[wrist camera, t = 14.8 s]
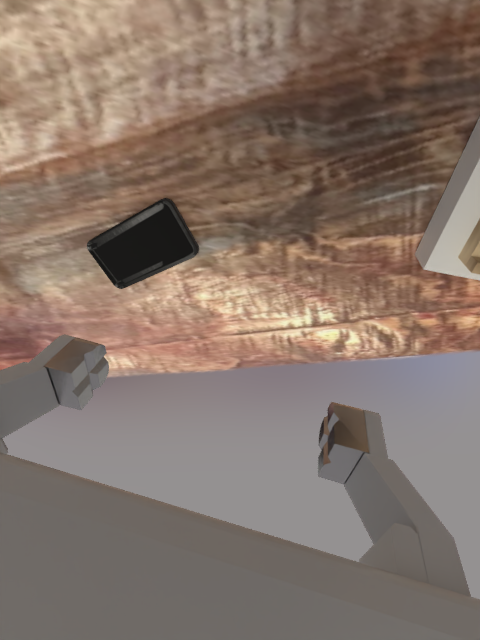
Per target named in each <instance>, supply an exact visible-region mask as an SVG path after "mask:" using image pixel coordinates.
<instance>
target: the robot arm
mask: <svg viewBox="0 0 480 640" xmlns="http://www.w3.org/2000/svg"><path fill="white" fill-rule="evenodd" d="M105 354H106V349H105V346H104V345H102V344H98V343H95V342H91V341H87V340H84V339H80V338H76V337H72V336H69V335H61V336H59V337H58V338H57V339H56V340H55V341H53V342H52V343H51V344H50V345H49V346H48V347H46V348H45V349H44V350H43V351H42V352H41V353H39V354H38V355H37V356H36V357H35V358H34V359H32V360H31V361H30V362H29V363H27V362H23V363H20V364H17V365H14V366H11V367H9V368H6V369H3V370H0V640H480V599H476V598H473V597H471V595H470V592H469V588H468V585H467V581H466V578H465V575H464V571H463V568H462V564H461V561H460V557H459V554H458V551H457V547H456V544H455V541H454V538H453V537H452V535H451V534H450V533H449V532H448V530H447V529H446V528H445V526H444V525H443V524H442V522H440V520H439V519H438V517H437V516H436V515H435V514H434V512H433V511H432V510H431V508H430V507H429V506H428V505H427V503H426V502H425V501H424V499H423V498H422V497H421V496H420V494H419V493H418V492H417V490H416V489H415V488H414V487H413V485H412V484H411V483H410V481H409V480H408V479H407V478H406V476H405V475H404V474H403V473H402V471H401V470H400V469H399V467H398V466H397V465H396V463H395V462H394V461H393V460H390V459H388V455H387V450H386V444H385V439H384V433H383V428H382V422H381V417H380V415H379V413H375V412H371V411H366V410H362V409H359V408H354V407H351V406H346V405H342V404H338V403H334V402H331V404H330V405H329V407H328V416H327V417H324V419H323V422H322V424H321V428H320V434H319V447H320V448H321V450H322V451H321V453H320V455H319V457H318V476H319V477H322V478H325V479H328V480H332V481H335V482H338V483H341V484H344V487H345V489H346V490H347V492H348V494H349V496H350V498H351V500H352V502H353V504H354V506H355V508H356V510H357V512H358V514H359V516H360V518H361V520H362V522H363V524H364V526H365V528H366V530H367V532H368V534H369V536H370V538H371V540H372V542H373V544H374V545H373V546H372V547H371V548H370V549H369V550H368V551H367V552H366V553H365V554H364V555H363V557H362V558H361V559H360V560H359V562H356V561H353V560H349V559H346V558H343V557H340V556H336V555H333V554H329V553H326V552H323V551H320V550H317V549H313V548H309V547H307V546H304V545H300V544H297V543H294V542H291V541H287V540H284V539H281V538H278V537H274V536H271V535H268V534H264V533H261V532H258V531H255V530H252V529H248V528H245V527H242V526H239V525H235V524H232V523H229V522H226V521H222V520H219V519H216V518H213V517H209V516H206V515H203V514H200V513H196V512H193V511H190V510H187V509H183V508H180V507H177V506H173V505H170V504H167V503H164V502H161V501H157V500H154V499H151V498H148V497H144V496H141V495H138V494H134V493H131V492H128V491H125V490H122V489H118V488H115V487H112V486H108V485H105V484H102V483H99V482H95V481H92V480H89V479H85V478H82V477H79V476H76V475H72V474H69V473H66V472H63V471H60V470H56V469H53V468H50V467H47V466H43V465H40V464H37V463H33V462H30V461H27V460H24V459H20V458H17V457H14V456H11V455H7V453H8V448H7V447H6V445H5V443H4V441H3V439H2V438H3V437H5V436H7V435H9V434H11V433H12V432H14V431H16V430H18V429H19V428H21V427H23V426H25V425H26V424H28V423H29V422H32V421H33V420H35V419H37V418H39V417H40V416H42V415H44V414H46V413H47V412H49V411H51V410H53V409H54V408H56V407H58V406H59V405H63V406H67V407H71V408H75V409H79V410H82V409H83V408H84V406H85V405H86V404H87V403H88V401H89V400H90V399H91V398H92V396H93V390H94V389H96V388H99V387H101V385H102V384H103V383H104V381H105V380H106V377H107V375H108V371H109V365H108V361H107V360H106V359H105V358H104V357H103V356H104V355H105Z"/></svg>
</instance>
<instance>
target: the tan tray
mask: <svg viewBox="0 0 480 640" xmlns="http://www.w3.org/2000/svg"><path fill="white" fill-rule="evenodd" d="M458 258H459V259H460V260H461V262H462V263H463V264H464V265H465V266H466V267H467V268H468V270H469V271H470V272H471V273H475V274H480V219H479V221H478V222H477V224H476V226H475V228H474V230H473V231H472V233H471V235H470V237H469V238H468V240H467V242H466V244H465V246H464V247H463V249H462V251H461V253H460V254H459V256H458Z"/></svg>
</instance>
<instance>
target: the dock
mask: <svg viewBox="0 0 480 640" xmlns="http://www.w3.org/2000/svg"><path fill="white" fill-rule="evenodd" d="M479 219H480V117H479V119H478V121H477V123H476V126H475V128H474V130H473V132H472V134H471V136H470V138H469V140H468V142H467V145H466V147H465V149H464V151H463V153H462V155H461V157H460V159H459V161H458V164H457V166H456V168H455V170H454V172H453V174H452V176H451V178H450V181H449V183H448V185H447V187H446V189H445V191H444V193H443V195H442V197H441V200H440V202H439V204H438V206H437V208H436V210H435V212H434V214H433V216H432V219H431V221H430V223H429V225H428V227H427V229H426V231H425V233H424V236H423V238H422V240H421V242H420V244H419V246H418V248H417V250H416V252H415V256H416V257H417V259H418V261H419V262H420V264H421V266H422V268H423V269H424V270H429V271H434V272H440V273H445V274H450V275H455V276H460V277H465V278H470V279H476V280H480V274H475V273H471V272H470V271H469V270H468V268H467V267H466V266H465V265H464V264H463V263H462V262H461V260H460V259H459V258H458V256H459V254H460V253H461V251H462V249H463V247H464V246H465V244H466V242H467V240H468V238H469V237H470V235H471V233H472V231H473V230H474V228H475V226H476V224H477V222H478V221H479Z"/></svg>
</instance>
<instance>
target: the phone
mask: <svg viewBox="0 0 480 640" xmlns="http://www.w3.org/2000/svg"><path fill="white" fill-rule="evenodd" d="M184 224H185V225H184ZM185 226H186V227H185ZM87 248H88V250H89V252H90V253H91V255H92V256H93V257H94V259H95V260H96V261H97V263H98V264H99V266H100V267H101V268H102V270H103V271H104V272H105V274H106V275H107V276H108V278H109V279H110V280H111V282H112V283H113V284H114V286H116V287H117V288H119V289H123V288H126V287H128V286H130V285H132V284H135V283H137V282H139V281H142V280H144V279H146V278H148V277H150V276H153V275H155V274H157V273H159V272H162V271H164V270H166V269H168V268H171V267H173V266H175V265H177V264H180V263H182V262H184V261H186V260H189V259H191V258H193V257H194V256H195V255H196V254H197V253H198V251H199V247H198V244H197V242H196V241H195V239H194V237H193V235H192V234H191V232H190V230H189V228H188V227H187V225H186V223H185V221H184V220H183V218H182V216H181V214H180V213H179V211H178V209H177V208H176V206H175V204H174V203H173V202H172V201H171V200H170V199H166V198H164V199H162V200H160V201H158V202H156V203H155V204H153V205H151V206H149V207H148V208H146V209H144V210H142V211H141V212H139V213H137V214H135V215H134V216H132V217H130V218H128V219H127V220H125V221H123V222H121V223H120V224H118V225H116V226H114V227H113V228H111V229H109V230H107V231H106V232H104V233H102V234H100V235H99V236H97V237H95V238H93V239H92V240H90V241H89V242H88V243H87Z"/></svg>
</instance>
